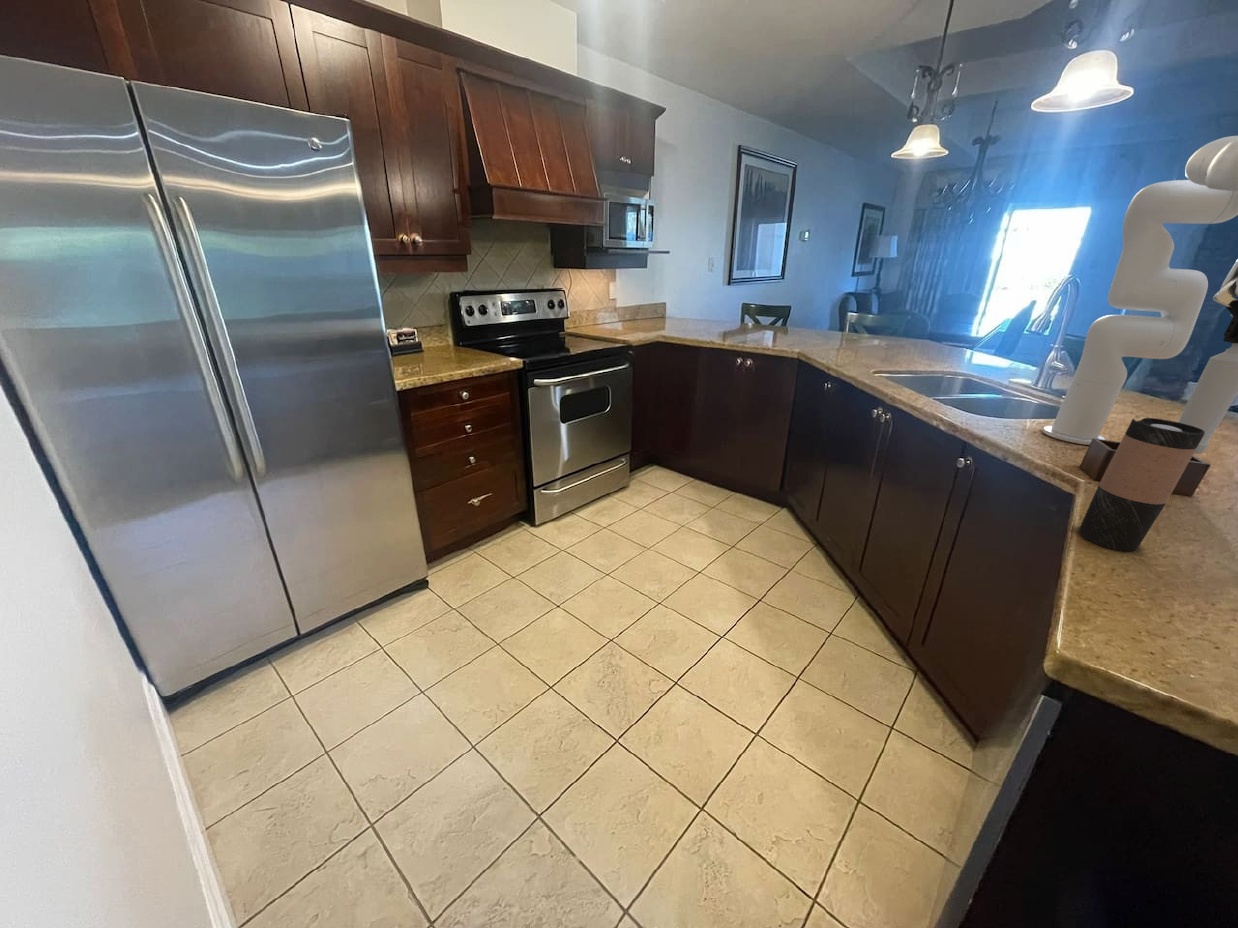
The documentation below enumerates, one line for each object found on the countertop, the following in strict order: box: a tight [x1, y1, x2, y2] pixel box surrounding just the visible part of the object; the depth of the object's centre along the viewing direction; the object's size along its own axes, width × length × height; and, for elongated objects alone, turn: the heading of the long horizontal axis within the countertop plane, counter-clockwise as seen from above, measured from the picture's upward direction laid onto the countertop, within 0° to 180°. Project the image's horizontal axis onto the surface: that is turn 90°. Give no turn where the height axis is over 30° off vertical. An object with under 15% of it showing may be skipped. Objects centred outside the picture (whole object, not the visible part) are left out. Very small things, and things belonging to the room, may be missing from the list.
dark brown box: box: [1078, 438, 1211, 497], centre depth 100 cm, size 8×15×7 cm, turn 65°
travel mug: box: [1078, 417, 1205, 552], centre depth 74 cm, size 8×8×20 cm
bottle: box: [1177, 343, 1238, 455], centre depth 83 cm, size 5×5×25 cm
